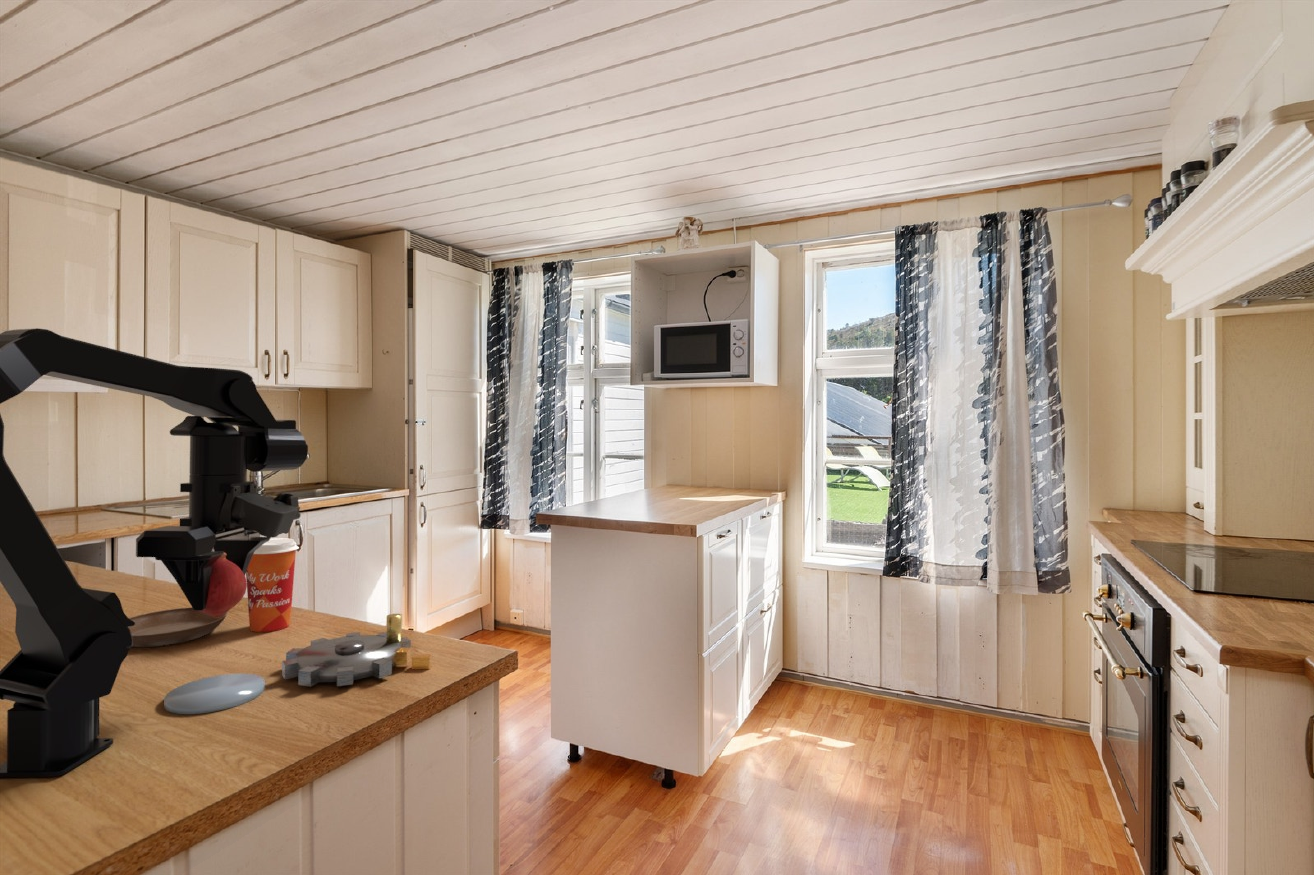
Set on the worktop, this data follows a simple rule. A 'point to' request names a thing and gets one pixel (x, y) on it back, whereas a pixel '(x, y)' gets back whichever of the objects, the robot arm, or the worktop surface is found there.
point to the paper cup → (271, 585)
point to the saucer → (171, 627)
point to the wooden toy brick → (422, 661)
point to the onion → (224, 587)
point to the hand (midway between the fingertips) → (216, 603)
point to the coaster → (214, 693)
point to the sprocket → (349, 656)
